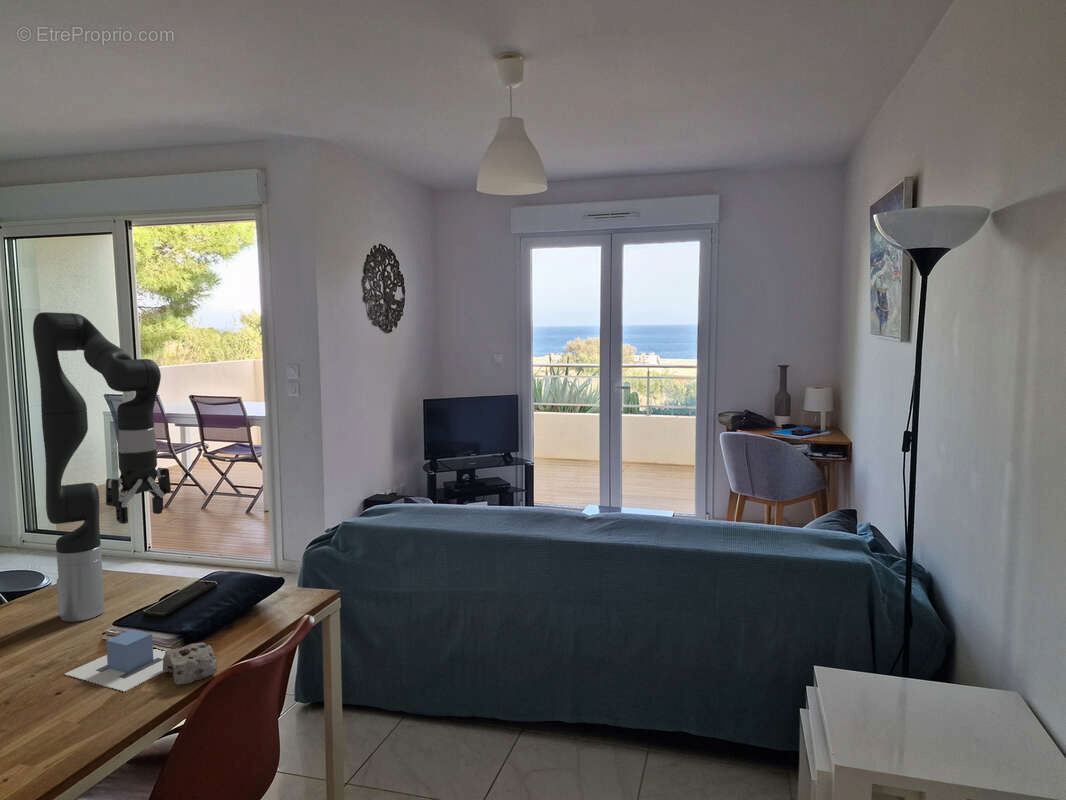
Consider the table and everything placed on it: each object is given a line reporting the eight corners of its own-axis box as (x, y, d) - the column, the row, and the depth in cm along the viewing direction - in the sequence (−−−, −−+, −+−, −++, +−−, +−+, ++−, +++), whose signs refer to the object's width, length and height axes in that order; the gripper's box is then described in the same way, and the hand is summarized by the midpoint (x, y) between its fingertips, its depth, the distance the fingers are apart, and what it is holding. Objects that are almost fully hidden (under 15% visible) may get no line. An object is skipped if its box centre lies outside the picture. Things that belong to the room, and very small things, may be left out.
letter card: (64, 674, 142) (64, 673, 142) (135, 642, 157) (135, 641, 157) (124, 692, 135) (124, 690, 135) (192, 657, 150) (192, 656, 150)
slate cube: (107, 667, 145) (106, 640, 144) (133, 655, 150) (132, 629, 150) (127, 673, 142) (126, 645, 142) (153, 660, 148) (152, 633, 147)
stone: (159, 649, 146) (211, 635, 151) (164, 676, 146) (215, 661, 151) (160, 665, 135) (216, 649, 139) (165, 694, 134) (220, 677, 139)
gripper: (153, 441, 163) (156, 508, 165) (95, 451, 150) (99, 524, 152) (176, 444, 160) (179, 512, 162) (118, 455, 147) (122, 528, 149)
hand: (140, 518), depth 157 cm, fingers open, 8 cm apart
